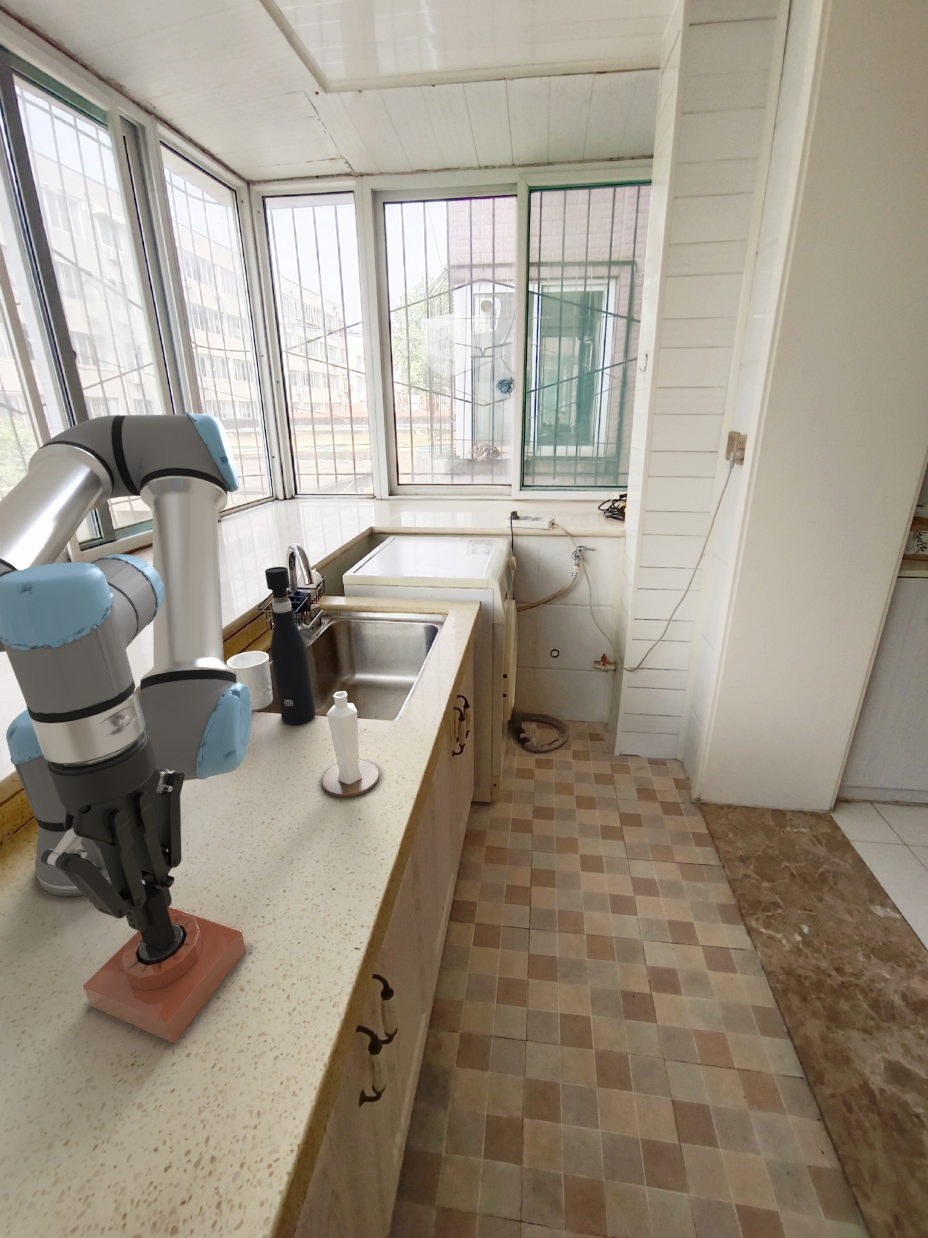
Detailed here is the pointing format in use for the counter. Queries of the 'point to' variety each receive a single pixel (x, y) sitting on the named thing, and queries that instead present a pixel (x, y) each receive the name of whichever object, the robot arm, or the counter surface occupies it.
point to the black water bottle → (289, 654)
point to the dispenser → (167, 977)
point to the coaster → (353, 789)
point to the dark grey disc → (156, 955)
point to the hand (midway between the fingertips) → (159, 940)
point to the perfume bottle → (345, 737)
